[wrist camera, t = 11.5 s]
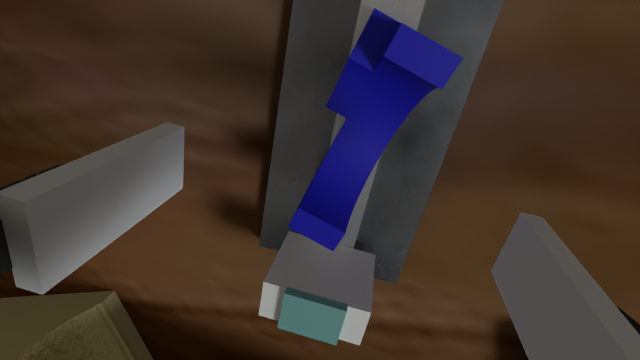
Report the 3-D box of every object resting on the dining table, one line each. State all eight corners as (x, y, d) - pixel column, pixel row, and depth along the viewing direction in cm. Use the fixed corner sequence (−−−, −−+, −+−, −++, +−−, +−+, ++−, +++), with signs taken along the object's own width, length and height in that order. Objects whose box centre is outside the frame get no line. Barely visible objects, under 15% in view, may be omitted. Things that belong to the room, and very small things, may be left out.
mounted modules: (365, 284, 28) (358, 352, 22) (283, 260, 29) (255, 321, 23) (499, -121, 17) (556, -199, 11) (357, -145, 17) (339, -232, 11)
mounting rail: (395, 275, 30) (396, 292, 28) (263, 238, 31) (254, 252, 29) (535, -98, 18) (551, -111, 16) (316, -136, 19) (308, -153, 17)
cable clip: (376, 10, 20) (371, 5, 14) (444, 48, 20) (463, 57, 15) (291, 173, 25) (264, 214, 20) (345, 203, 25) (333, 251, 20)
